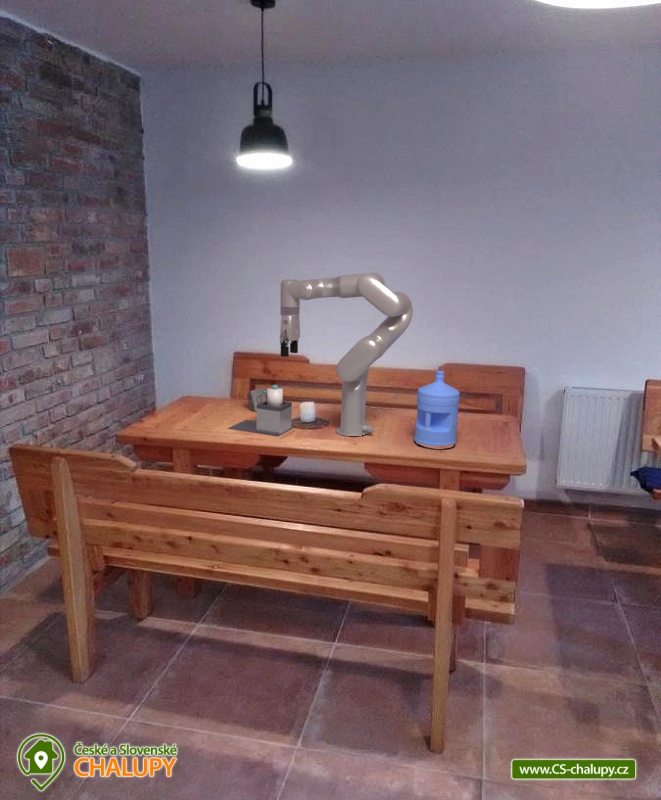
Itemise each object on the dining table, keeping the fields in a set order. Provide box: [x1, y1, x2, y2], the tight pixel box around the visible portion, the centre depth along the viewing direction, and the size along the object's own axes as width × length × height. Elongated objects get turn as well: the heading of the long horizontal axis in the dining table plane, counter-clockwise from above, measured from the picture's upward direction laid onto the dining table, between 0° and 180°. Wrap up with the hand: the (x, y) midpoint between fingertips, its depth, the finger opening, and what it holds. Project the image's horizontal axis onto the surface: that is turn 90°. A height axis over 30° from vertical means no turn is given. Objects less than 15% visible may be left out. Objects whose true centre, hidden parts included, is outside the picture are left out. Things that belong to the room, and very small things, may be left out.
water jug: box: [413, 370, 461, 446], centre depth 243 cm, size 16×16×28 cm
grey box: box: [226, 399, 296, 439], centre depth 254 cm, size 22×16×12 cm
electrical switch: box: [246, 387, 267, 412], centre depth 287 cm, size 9×5×9 cm, turn 152°
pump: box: [263, 384, 284, 407], centre depth 250 cm, size 8×6×8 cm
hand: (289, 354), depth 259 cm, fingers open, 9 cm apart
